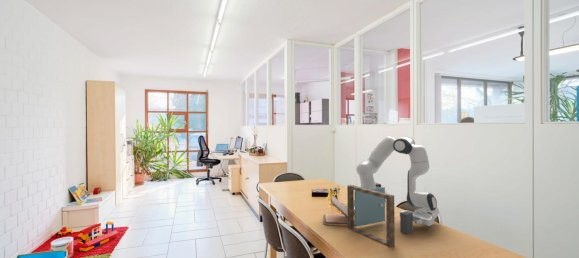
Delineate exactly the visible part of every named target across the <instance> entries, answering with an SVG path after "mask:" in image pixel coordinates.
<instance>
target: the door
mask: <svg viewBox="0 0 579 258" xmlns="http://www.w3.org/2000/svg"><path fill="white" fill-rule="evenodd" d="M385 187H386V186H385ZM385 187H384V186H381V187H379V188H371V189H370V190H374V191H378V192H382V193H385V192H386V190H385V189H386V188H385ZM354 200H355V211H354V220H355V222H354V227H355V228H357V227H362V226H365V225H366V226H367V225H372V224H377V223H381V222H382V223H383V222H386V199H385V198H382V197H378V196H374V195H370V194H366V193H363V192H359V191H355V190H354Z"/></svg>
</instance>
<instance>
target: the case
mask: <svg viewBox="0 0 579 258" xmlns="http://www.w3.org/2000/svg"><path fill="white" fill-rule="evenodd" d="M330 201H331V204H332V206H334V208H336V209H337V210H338V211H339V212H340V213H325V214H324V215H323V225H324V226H336V227H337V226H339V227H340V226H341V227H348V207H346V206H345V205H344V204H343V203H342V202H341V201H340V200H339V199H337V198H336V197H335V196H334V195H330ZM354 223H355V219H354Z"/></svg>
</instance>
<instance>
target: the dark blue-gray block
mask: <svg viewBox="0 0 579 258" xmlns="http://www.w3.org/2000/svg"><path fill="white" fill-rule="evenodd" d="M403 211H404V210H403ZM408 211H409V210H408ZM408 211H404V212H401V213H400V212H399V217H400V218H399V221H400V224H399V226H400V227H399V229H400V233H403V234H405V235H409V234H411V233H413V232H414V229H413V228H414V225H413V224H414V223H413V222H414V221H413V213H411V212H408Z"/></svg>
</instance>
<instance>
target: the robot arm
mask: <svg viewBox="0 0 579 258" xmlns="http://www.w3.org/2000/svg"><path fill="white" fill-rule="evenodd" d="M394 151H395V152H397V153H398V154H403V155H408V156H409V160H410V168H409V170H408V171H407V185H406V188H407V194H406V202H407V203H408V204H409V206H410V207H413V208H415V207H416V208H417V207H419V208H417V209H415V210H414V211H411V210H407V209H406V210H404V209H403V210H400V211H399V214H400V213H401V212H404V211H408V212H411V213H413V222H414V224H416V225H419V224H422V225H424V226H429V227H430V226H432V225H435V219H436V218H437V217H438V216H439V213H440V210H439V208H438V202H437V198H436V197H435V196H434V194H433V193H431V192H419V191H418V192H417V189H416V188H417V187H416V186H417V185H416V183H417V182H416V180H417V178H419V177H420V176H423V175H425V174H427V172H428V171H429V169H430V161H429V155H428V154H427V151H426V148H425V147H424V146H423V145H419V144H418V145H416V142H415V140H414V139H413V138H412V137H409V136H401V137H397V139H396V138H394V137H392V136H389V135H388V136H386V137H385V138H383V139H382V140H381V141H380V142H379V143H378V144H377V145H376V147H375V148H374V149H373V150H372V151H371V153H370V155H369V157H368V159H367V160H365V161H362V162H360V163H359V164H358V165H356V172H357V174H358V177H359V181H360V187H362V188H366V189H371V188H376V183H377V182H376V181H375V179H374V174H376V173H377V172H378V171H379V169H380V168H381V166H382V165H383V164H384V163H385V161H386V160H387V159H388V157H390V155H391V154H393V152H394ZM354 206H355V199H354Z"/></svg>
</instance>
